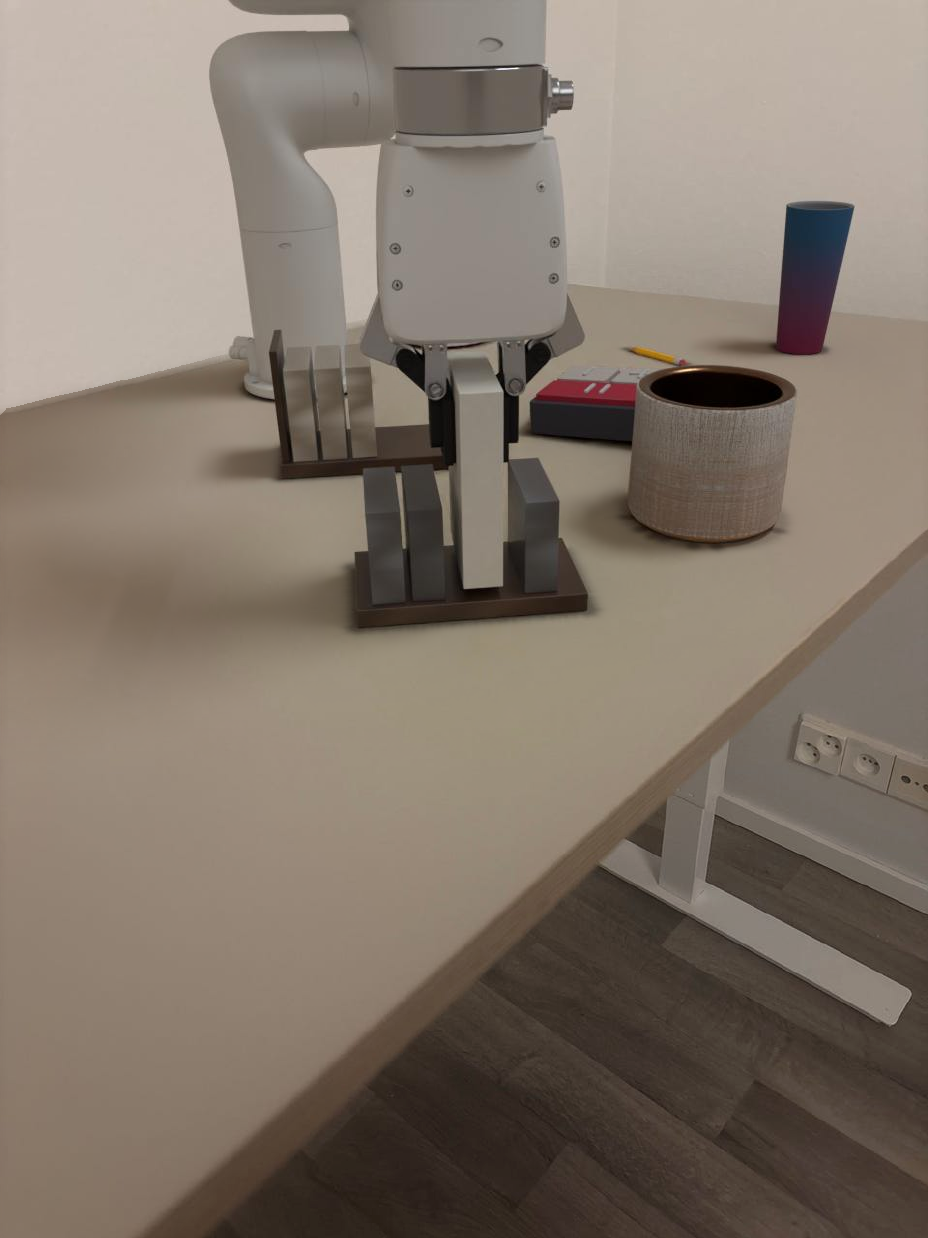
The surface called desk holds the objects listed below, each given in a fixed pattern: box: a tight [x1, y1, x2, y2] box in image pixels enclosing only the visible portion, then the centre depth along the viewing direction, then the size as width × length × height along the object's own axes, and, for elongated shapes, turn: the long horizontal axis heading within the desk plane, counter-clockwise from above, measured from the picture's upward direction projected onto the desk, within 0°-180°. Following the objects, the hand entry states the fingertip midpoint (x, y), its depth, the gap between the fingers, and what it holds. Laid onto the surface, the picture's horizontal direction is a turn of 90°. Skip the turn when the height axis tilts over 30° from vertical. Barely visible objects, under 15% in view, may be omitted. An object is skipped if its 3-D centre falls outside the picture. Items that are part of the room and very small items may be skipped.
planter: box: [627, 364, 798, 544], centre depth 68 cm, size 11×11×10 cm
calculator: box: [529, 364, 663, 442], centre depth 87 cm, size 11×4×15 cm
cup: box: [775, 200, 855, 355], centre depth 105 cm, size 7×7×15 cm
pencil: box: [627, 346, 686, 367], centre depth 107 cm, size 1×8×1 cm, turn 36°
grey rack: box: [353, 457, 589, 628], centre depth 60 cm, size 14×8×7 cm, turn 96°
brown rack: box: [269, 330, 449, 480], centre depth 80 cm, size 14×8×10 cm, turn 96°
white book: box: [447, 350, 504, 589], centre depth 58 cm, size 2×8×12 cm, turn 6°
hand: (473, 453), depth 58 cm, fingers closed on white book, 2 cm apart
